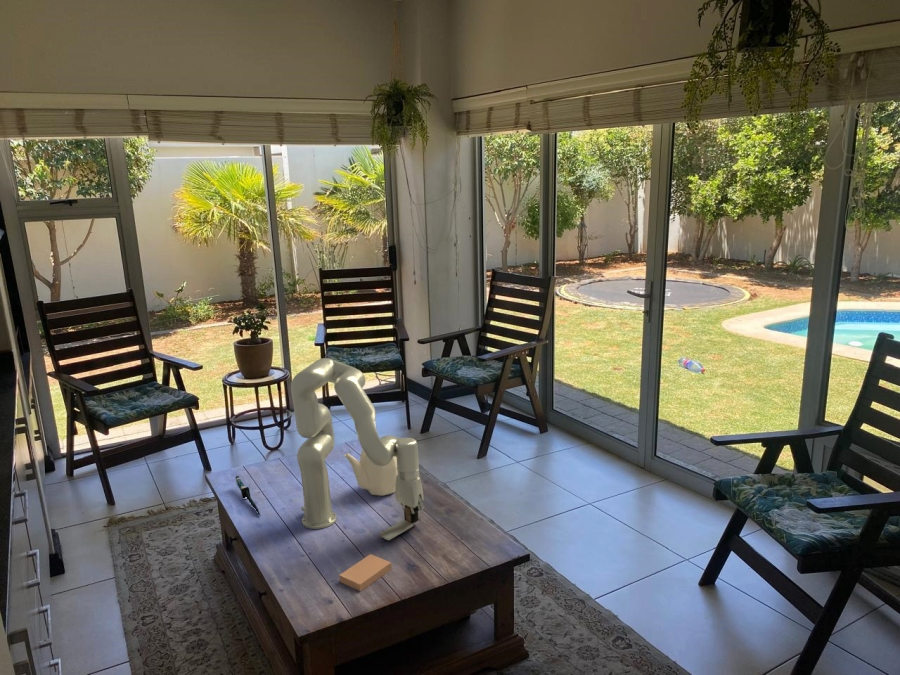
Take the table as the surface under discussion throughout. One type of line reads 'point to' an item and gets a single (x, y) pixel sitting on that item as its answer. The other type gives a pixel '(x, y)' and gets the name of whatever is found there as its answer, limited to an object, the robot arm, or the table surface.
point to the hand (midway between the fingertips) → (411, 520)
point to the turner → (398, 526)
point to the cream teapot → (374, 474)
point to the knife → (245, 492)
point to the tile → (365, 572)
